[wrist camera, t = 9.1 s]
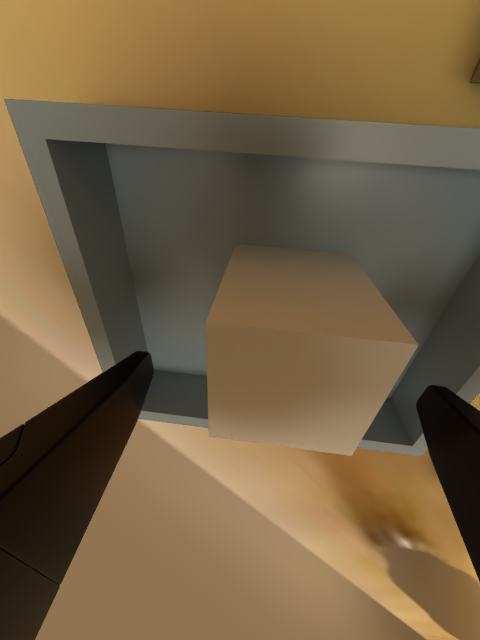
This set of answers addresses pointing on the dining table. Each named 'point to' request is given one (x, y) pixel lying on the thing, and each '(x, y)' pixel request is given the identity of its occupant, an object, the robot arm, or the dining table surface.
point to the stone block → (300, 350)
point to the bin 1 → (258, 233)
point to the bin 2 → (476, 75)
